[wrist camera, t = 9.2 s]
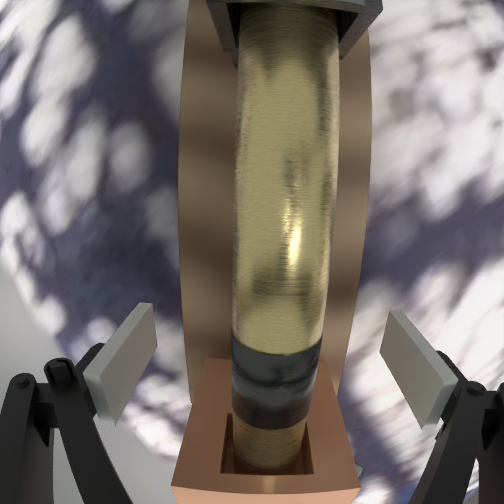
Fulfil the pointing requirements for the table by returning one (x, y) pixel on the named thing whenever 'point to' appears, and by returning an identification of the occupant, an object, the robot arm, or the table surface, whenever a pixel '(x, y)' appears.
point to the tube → (281, 225)
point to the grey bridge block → (346, 4)
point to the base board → (222, 196)
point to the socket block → (262, 486)
